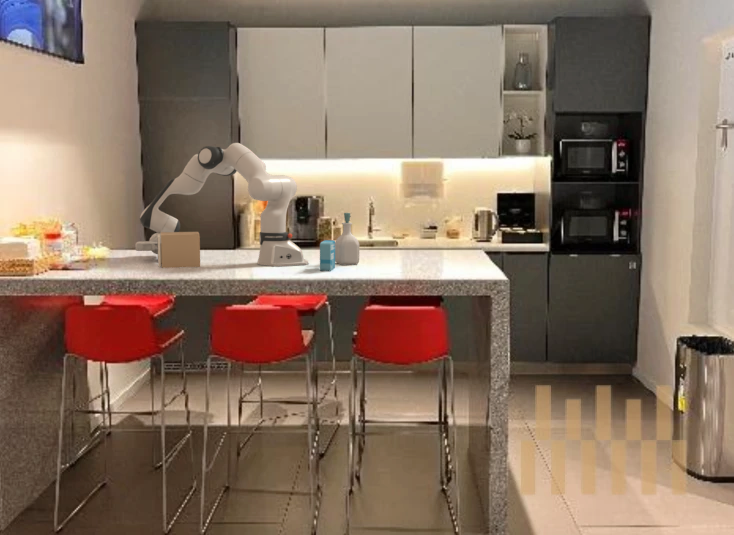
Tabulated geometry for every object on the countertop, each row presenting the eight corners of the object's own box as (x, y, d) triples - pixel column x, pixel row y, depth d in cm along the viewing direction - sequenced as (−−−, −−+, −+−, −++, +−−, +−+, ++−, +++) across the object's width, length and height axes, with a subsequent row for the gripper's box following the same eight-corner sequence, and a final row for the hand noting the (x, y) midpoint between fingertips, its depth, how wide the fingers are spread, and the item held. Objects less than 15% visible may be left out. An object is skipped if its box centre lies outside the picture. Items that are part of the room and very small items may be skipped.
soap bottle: (340, 265, 357) (340, 213, 353) (333, 263, 365) (333, 212, 362) (360, 264, 360) (361, 213, 357) (353, 262, 369) (353, 211, 366)
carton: (199, 263, 361) (198, 231, 359) (200, 266, 349) (199, 234, 347) (161, 264, 357) (160, 232, 355) (161, 267, 345) (160, 235, 343)
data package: (330, 271, 338) (330, 243, 337) (319, 271, 339) (319, 242, 337) (335, 267, 350) (335, 240, 348) (324, 267, 351) (324, 239, 349)
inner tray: (195, 260, 365) (194, 232, 363) (196, 265, 348) (196, 235, 347) (158, 261, 361) (157, 232, 359) (157, 266, 345) (157, 236, 343)
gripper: (135, 237, 368) (134, 241, 355) (181, 237, 373) (182, 240, 360) (135, 251, 369) (134, 255, 355) (181, 250, 374) (182, 254, 360)
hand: (159, 247), depth 358 cm, fingers closed on inner tray
